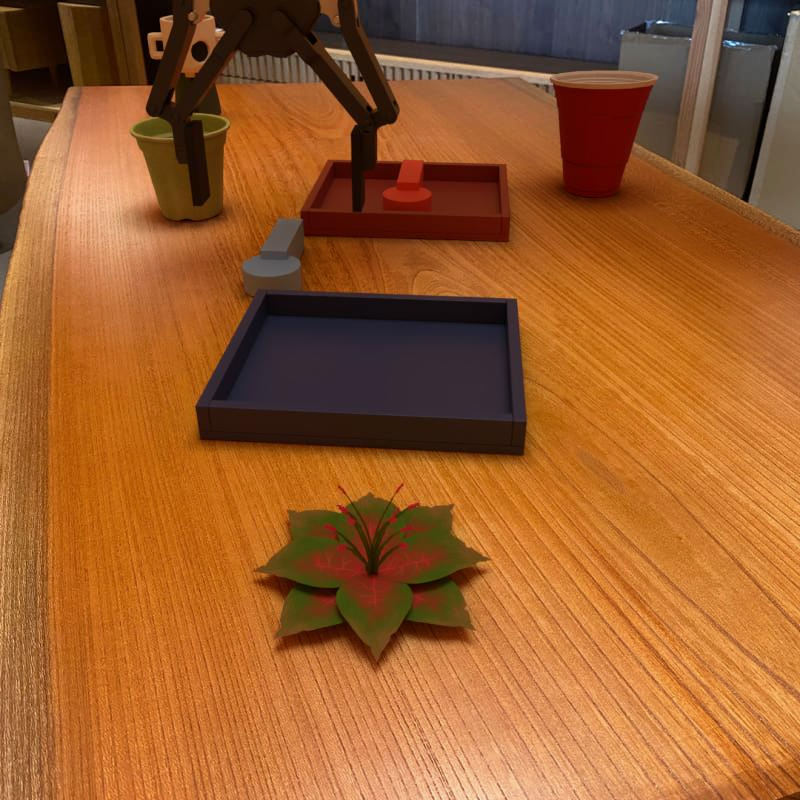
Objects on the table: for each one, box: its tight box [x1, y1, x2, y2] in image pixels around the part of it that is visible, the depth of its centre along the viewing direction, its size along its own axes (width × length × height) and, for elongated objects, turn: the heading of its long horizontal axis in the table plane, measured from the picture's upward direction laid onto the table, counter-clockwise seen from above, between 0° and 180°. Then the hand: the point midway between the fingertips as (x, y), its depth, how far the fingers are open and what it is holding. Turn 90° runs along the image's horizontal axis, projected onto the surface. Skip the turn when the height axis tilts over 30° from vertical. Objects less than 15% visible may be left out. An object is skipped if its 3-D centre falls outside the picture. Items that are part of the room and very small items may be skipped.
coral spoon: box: [383, 159, 432, 212], centre depth 85 cm, size 5×11×3 cm, turn 175°
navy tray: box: [194, 289, 528, 456], centre depth 57 cm, size 20×17×2 cm
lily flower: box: [251, 482, 493, 662], centre depth 40 cm, size 12×12×5 cm
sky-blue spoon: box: [241, 217, 306, 298], centre depth 72 cm, size 5×11×3 cm, turn 175°
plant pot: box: [128, 113, 231, 222], centre depth 83 cm, size 9×9×9 cm
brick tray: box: [299, 159, 512, 242], centre depth 85 cm, size 20×17×2 cm
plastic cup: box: [549, 70, 659, 198], centre depth 88 cm, size 11×11×12 cm
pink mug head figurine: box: [147, 14, 225, 116], centre depth 113 cm, size 11×7×13 cm, turn 96°
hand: (280, 204), depth 72 cm, fingers open, 13 cm apart
